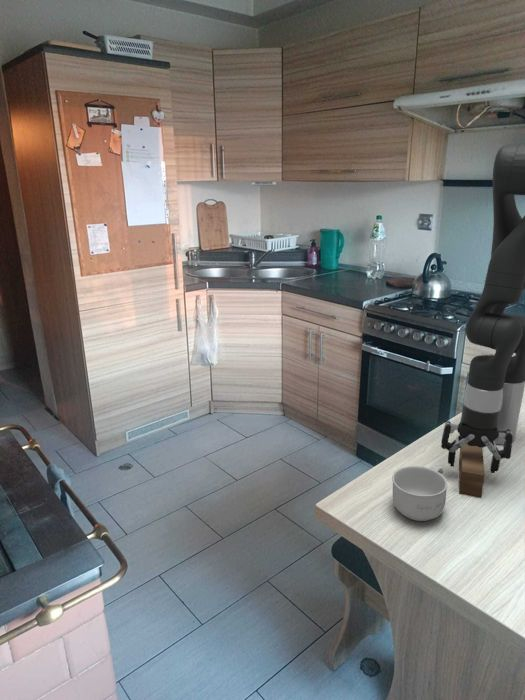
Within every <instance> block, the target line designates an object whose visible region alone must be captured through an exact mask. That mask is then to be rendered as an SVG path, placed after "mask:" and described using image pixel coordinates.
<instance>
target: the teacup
mask: <svg viewBox="0 0 525 700" xmlns="http://www.w3.org/2000/svg"><path fill="white" fill-rule="evenodd" d="M443 471H444V470H443V468H442V467H441V466H440V465H434V466H432V467H431V468H429V467H426V466H421V465H408V466H407V465H406V466H403V467H401V468H400V467H399V468H398V469H397V470H395V471H394V472H393V473H392V476H391V479H392V500H393V504H394V506H395V508H396V510H397V511H398V512H399V513H400V514H402V515H404V516H405V517H407V518H408V519H410V520H412V521H417V522H427V521H430V520H433V519H435V518H437V517H439V516H440V515H441V514H442V513H443V512H444V509H445V505H446V502H447V490H448V485H449V484H448V479H446V477H445V476H444V475H443V473H444V472H443Z"/></svg>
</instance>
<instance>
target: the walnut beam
mask: <svg viewBox="0 0 525 700" xmlns="http://www.w3.org/2000/svg"><path fill="white" fill-rule="evenodd" d="M459 449H460V450H459V455H458V494H459V495H462V496H469V497H473V498H477V499H478V498H479V499H481V498H482V495H483V489H484V484H485V483H484V482H485V478H486V477H485V476H486V475H485V474H486V473H485V462H484V461H485V460H484V450H483V449H484V448H480V447H477V446H468V444H465V445H464V446H463V447H462V448H459Z"/></svg>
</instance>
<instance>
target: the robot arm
mask: <svg viewBox="0 0 525 700" xmlns="http://www.w3.org/2000/svg"><path fill="white" fill-rule="evenodd" d="M492 168H493V169H492V170H493V171H492V202H493V203H492V204H493V205H492V206H493V207H492V209H493V211H492V212H493V229H492V230H493V231H492V243H491V251H490V252H491V253H490V260H489V262H488V266H487V271H486V276H485V280H484V285H483V289H482V292H481V294H480V297H479V299H478V300H477V303H476V305H475V307H474V309H473V311H472V313H471V314H470V316H469V318H468V321H467V323H466V325H465V336H466V338H467V340H468V341H469V343H471V344H474V345H477V346H481V347H484V348H488V349H491V350H494V351H495V353H494V355H489V354H488V355H487V354H486V355H485V354H481V355H480V354H479V355H477V356H474V357H473V358H471V360H470V364H469V371H468V375H467V383H466V387H465V389H464V395H463V403H462V408H461V416H460V422H459V423H458V424H456V423H451V421H450V420H446V421H445V422H444V427H443V432H442V437H441V443H440V444H441V445H440V446H441V449H443V450H446V451H448V455H447V464H448V465H450V467H453V468H454V467H455V461H456V455H457V453H456V452H457V451H458V450H459V449H460V448H462V447H463V446H464V445H465V444H468V446H477V447H480V448H483V449H484V448H485V447H486V448H487V449H488V450H489V452H490V453H491V454H492V457H491V463H490V474H494V475H495V473H496V472H498V471H499V469H500V464H501V460H502V459H507V460H508V459H511V455H512V448H513V443H514V442H515V441H516V433H517V429H518V424H519V419H520V413H521V407H522V402H523V398H524V392H525V315H519V314H510V313H505V312H504V311H505V310H506V308H507V306H509V305H514V304H517V303H518V302H519V301H520V299H521V297H522V292H524V291H525V215H524V216H523V217H522V216H521V214H520V212H519V211H518V206H517V203H516V198H515V195H516V196H525V143H508V144H505V145H502V146H501V147H500V148H499V149H498V150H497V152H496V155H495V157H494V162H493V167H492ZM514 354H515V355H514ZM455 431H457V432H458V434H459V435H457V436H455V439H453V440H452V441H451V442H449V440H450V439H449V438H450V435H451V434H454V432H455ZM497 445H503V449H500V450H499V448H498V447H497Z"/></svg>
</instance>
